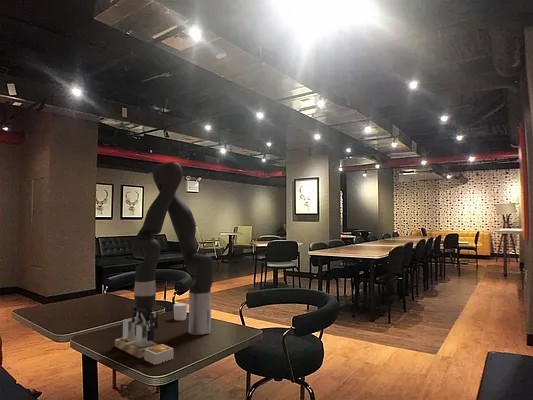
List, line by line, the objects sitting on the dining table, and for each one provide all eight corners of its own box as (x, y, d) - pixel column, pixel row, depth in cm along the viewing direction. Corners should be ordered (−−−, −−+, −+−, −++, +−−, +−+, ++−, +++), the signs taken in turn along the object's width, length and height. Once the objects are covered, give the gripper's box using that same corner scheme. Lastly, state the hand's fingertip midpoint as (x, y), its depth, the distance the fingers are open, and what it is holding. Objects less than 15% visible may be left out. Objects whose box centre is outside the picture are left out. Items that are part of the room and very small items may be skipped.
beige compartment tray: (114, 346, 134) (115, 339, 134) (134, 341, 140) (134, 334, 140) (139, 358, 123) (139, 350, 123) (159, 351, 129) (159, 344, 129)
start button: (148, 355, 121) (148, 348, 122) (161, 351, 125) (161, 344, 125) (156, 358, 118) (156, 351, 118) (169, 354, 122) (169, 347, 122)
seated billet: (122, 346, 134) (123, 319, 135) (132, 343, 138) (132, 317, 138) (127, 348, 132) (128, 321, 133) (137, 345, 135) (138, 319, 136)
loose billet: (135, 352, 128) (136, 324, 128) (145, 349, 131) (146, 322, 132) (141, 355, 125) (142, 326, 126) (151, 352, 128) (152, 324, 129)
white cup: (188, 316, 176) (188, 302, 177) (185, 320, 170) (186, 305, 170) (174, 316, 176) (175, 302, 177) (171, 320, 169) (171, 306, 170)
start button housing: (144, 359, 121) (144, 349, 121) (162, 353, 127) (162, 344, 127) (155, 365, 117) (155, 354, 117) (173, 358, 122) (173, 348, 122)
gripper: (125, 292, 131) (124, 336, 130) (145, 297, 122) (144, 345, 121) (144, 289, 137) (143, 331, 136) (164, 294, 128) (164, 339, 127)
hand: (144, 337), depth 128 cm, fingers open, 8 cm apart
